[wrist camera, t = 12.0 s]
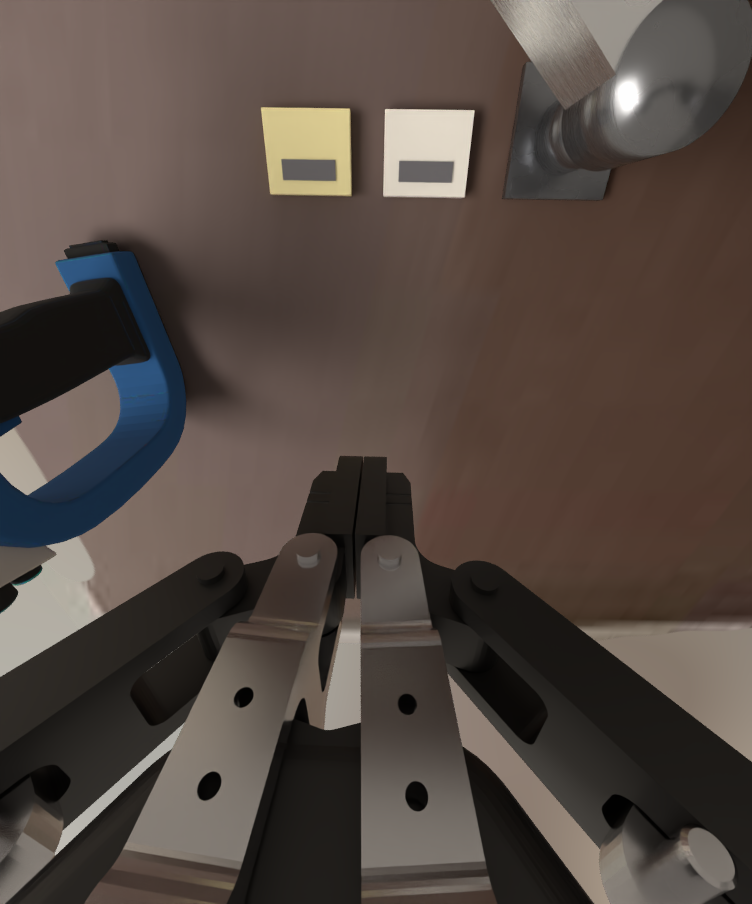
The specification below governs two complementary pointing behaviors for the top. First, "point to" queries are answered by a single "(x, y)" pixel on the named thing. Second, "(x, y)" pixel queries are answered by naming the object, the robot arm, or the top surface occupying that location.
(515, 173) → the gray square plate
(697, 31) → the bar
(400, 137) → the label plate
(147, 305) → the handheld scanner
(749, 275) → the top surface
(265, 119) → the label plate
